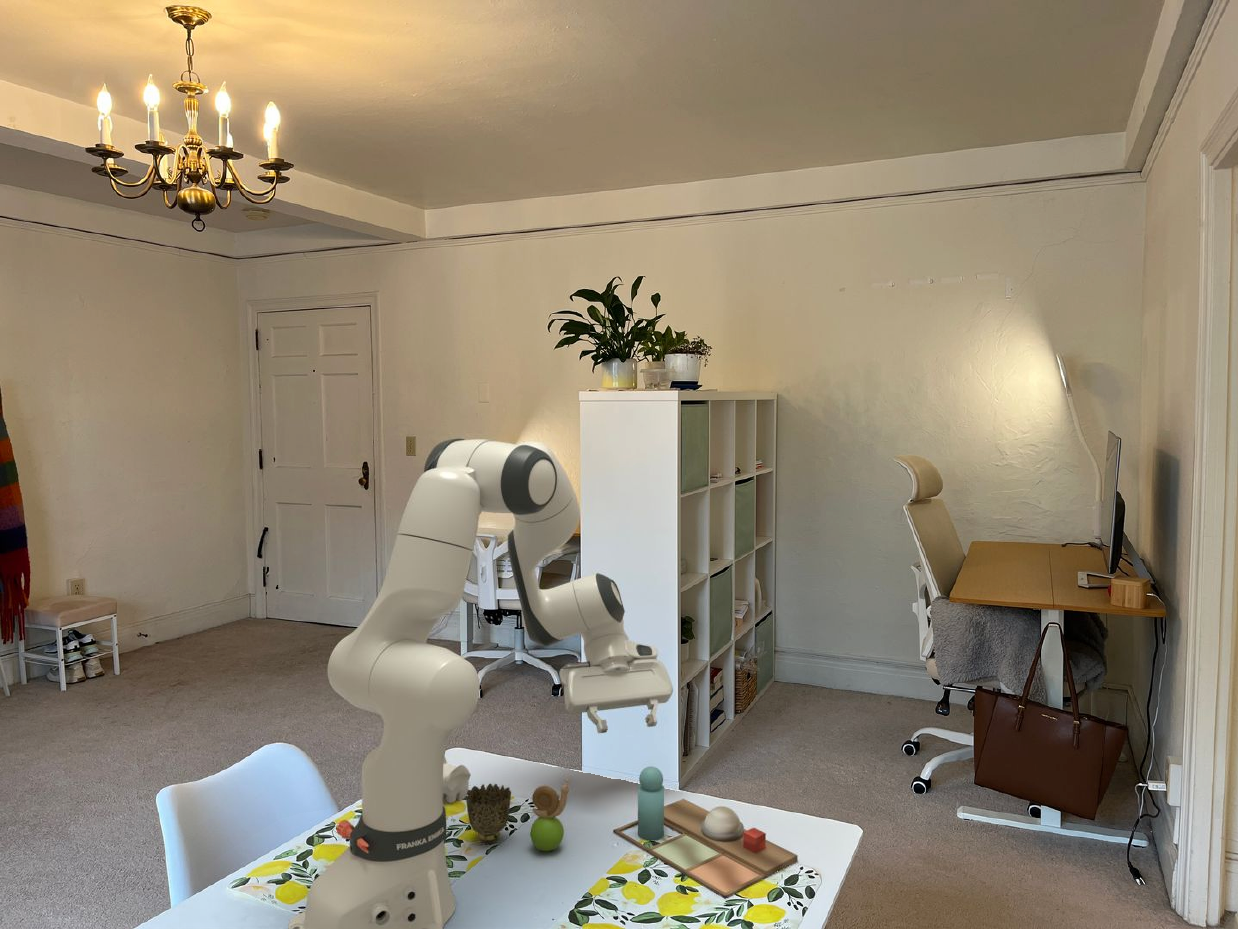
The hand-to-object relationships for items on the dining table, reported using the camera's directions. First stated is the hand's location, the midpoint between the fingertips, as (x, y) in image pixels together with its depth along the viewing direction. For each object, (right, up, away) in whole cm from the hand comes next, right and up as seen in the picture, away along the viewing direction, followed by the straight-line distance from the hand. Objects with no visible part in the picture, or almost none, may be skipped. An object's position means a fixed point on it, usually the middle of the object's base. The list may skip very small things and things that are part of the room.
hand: (628, 728), depth 155 cm
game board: (+12, -16, -13) cm, 24 cm away
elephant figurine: (-33, -14, +4) cm, 36 cm away
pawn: (+4, -15, -9) cm, 18 cm away
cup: (-23, -15, -12) cm, 30 cm away
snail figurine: (-13, -15, -15) cm, 25 cm away
